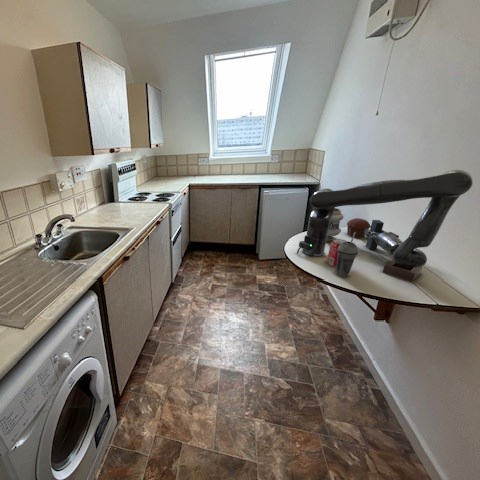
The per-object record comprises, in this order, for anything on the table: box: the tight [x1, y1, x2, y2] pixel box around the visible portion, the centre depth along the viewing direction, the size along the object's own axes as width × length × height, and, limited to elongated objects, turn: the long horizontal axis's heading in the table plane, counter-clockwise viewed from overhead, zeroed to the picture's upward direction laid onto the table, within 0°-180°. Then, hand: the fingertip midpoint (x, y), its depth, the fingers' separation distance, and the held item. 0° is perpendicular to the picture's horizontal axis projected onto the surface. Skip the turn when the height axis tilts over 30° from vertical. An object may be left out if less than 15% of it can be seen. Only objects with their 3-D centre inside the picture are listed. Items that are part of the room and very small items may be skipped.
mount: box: [382, 258, 423, 282], centre depth 116 cm, size 10×10×4 cm
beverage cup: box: [335, 232, 359, 278], centre depth 113 cm, size 7×7×20 cm
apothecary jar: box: [326, 207, 344, 243], centre depth 152 cm, size 12×12×18 cm
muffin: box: [346, 217, 371, 239], centre depth 156 cm, size 12×11×10 cm
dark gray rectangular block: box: [365, 219, 385, 251], centre depth 138 cm, size 3×5×15 cm, turn 165°
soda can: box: [326, 238, 348, 268], centre depth 124 cm, size 7×7×12 cm
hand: (373, 230), depth 140 cm, fingers open, 5 cm apart
